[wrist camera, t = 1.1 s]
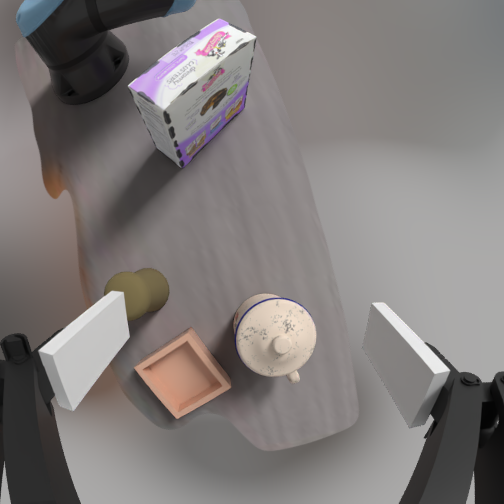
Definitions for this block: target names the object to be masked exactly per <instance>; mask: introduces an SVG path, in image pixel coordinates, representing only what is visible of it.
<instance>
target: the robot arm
mask: <svg viewBox="0 0 504 504" xmlns="http://www.w3.org/2000/svg"><path fill="white" fill-rule="evenodd" d="M195 2H196V0H25V1H24V2H23V4H22V5H21V6H20V8H19V10H18V12H17V15H16V22H17V24H18V26H19V28H20V30H21V32H22V35H23V37H25V38H26V39H27V40H28V42H29V43H30V44H31V46H32V47H33V48H34V50H35V51H36V52H37V54H38V55H39V56H40V58H41V59H42V60H43V62H44V63H45V64H46V65H47V67H48V68H49V72H50V77H51V82H52V86H53V90H54V92H55V93H56V95H57V96H58V97H59V98H60V99H61V100H62V101H63V102H65V103H67V104H81V103H85V102H88V101H91V100H93V99H95V98H97V97H99V96H101V95H102V94H104V93H105V92H107V91H108V90H109V89H111V88H112V87H113V86H114V85H115V84H116V83H117V82H118V81H119V80H120V78H121V77H122V76H123V74H124V73H125V71H126V69H127V66H128V63H129V55H128V52H127V49H126V47H125V45H124V43H123V42H122V41H121V40H119V39H118V38H117V37H116V36H115V35H114V34H113V33H112V32H110V31H109V30H111V29H114V28H118V27H121V26H124V25H128V24H132V23H136V22H140V21H144V20H148V19H152V18H157V17H166V16H168V15H171V14H175V13H180V12H185V11H187V10H189V9H190V8H191V7H192V6H193V5H194V4H195ZM129 337H130V335H129V329H128V322H127V315H126V308H125V299H124V292H118V291H111V292H110V293H108V294H107V295H106V296H104V297H103V298H102V299H101V300H99V301H98V302H97V303H95V304H94V305H93V306H92V307H90V308H89V309H88V310H87V311H85V312H84V313H83V314H82V315H80V316H79V317H78V318H77V319H76V320H74V321H73V322H72V323H71V324H70V325H68V326H67V327H65V328H62V329H61V330H58V331H57V332H55V333H54V334H53V335H52V336H51V337H50V338H48V339H47V340H46V341H44V342H43V343H42V344H41V345H40V346H38V347H37V348H36V349H35V350H34V351H33V352H31V349H30V345H29V342H28V339H27V337H26V336H25V335H24V334H19V333H17V334H11V335H8V336H6V337H5V338H3V339H2V340H1V342H0V345H1V348H2V350H3V353H4V356H5V359H6V360H0V497H1V484H2V475H3V468H4V461H5V468H6V476H7V482H8V489H9V494H10V500H11V504H81V503H80V500H79V498H78V495H77V492H76V490H75V487H74V484H73V481H72V479H71V475H70V473H69V469H68V466H67V463H66V459H65V456H64V452H63V449H62V445H61V441H60V437H59V433H58V428H57V424H56V419H55V414H54V409H53V405H52V403H51V399H52V398H53V397H54V396H55V397H56V399H57V402H58V404H59V406H61V407H64V408H66V409H69V410H72V411H74V410H75V408H76V407H77V406H78V404H79V403H80V401H81V400H82V399H83V397H84V396H85V395H86V393H87V392H88V391H89V389H90V388H91V387H92V385H93V384H94V383H95V381H96V380H97V379H98V377H99V376H100V375H101V373H102V372H103V371H104V369H105V368H106V367H107V366H108V364H109V363H110V362H111V360H112V359H113V358H114V356H115V355H116V354H117V353H118V351H119V350H120V349H121V347H122V346H123V345H124V344H125V342H126V341H127V340H128V339H129ZM362 348H363V350H364V351H365V353H366V355H367V356H368V358H369V360H370V361H371V363H372V365H373V366H374V368H375V370H376V371H377V373H378V374H379V376H380V378H381V380H382V381H383V383H384V385H385V386H386V388H387V390H388V392H389V393H390V395H391V397H392V399H393V400H394V402H395V404H396V405H397V407H398V409H399V411H400V412H401V414H402V416H403V418H404V419H405V421H406V423H407V425H408V427H409V428H413V427H417V426H421V425H424V424H425V423H426V421H427V419H428V417H429V415H430V414H431V415H432V417H433V418H434V421H433V423H432V425H431V426H430V428H429V430H428V432H427V433H426V435H425V437H424V438H427V439H426V442H425V444H424V447H423V450H422V453H421V455H420V458H419V461H418V463H417V465H416V468H415V470H414V473H413V475H412V477H411V480H410V482H409V484H408V486H407V488H406V490H405V492H404V495H403V496H402V498H401V501H400V502H399V504H466V500H467V497H468V493H469V489H470V485H471V480H472V476H473V471H474V479H475V504H504V372H498V373H497V374H496V375H495V377H494V379H493V381H492V382H488V383H487V382H486V383H482V382H481V380H480V378H479V377H477V376H476V375H474V374H472V373H468V372H461V373H459V372H458V371H457V370H456V369H455V368H454V367H453V366H452V364H451V363H450V362H448V360H447V359H445V357H444V356H443V355H442V354H440V352H439V351H438V350H437V349H436V348H435V347H433V346H432V345H430V344H428V343H424V342H423V341H422V340H421V339H420V338H419V337H418V336H417V335H416V334H415V333H414V332H413V331H412V330H411V329H410V328H409V327H408V326H407V325H406V324H405V323H404V322H403V321H402V320H401V319H400V318H399V317H398V316H397V315H396V314H395V313H394V312H393V311H392V310H391V309H390V308H389V307H388V306H387V305H386V304H385V303H371V308H370V313H369V319H368V323H367V328H366V332H365V337H364V342H363V346H362ZM498 420H499V422H498V424H497V421H498Z"/></svg>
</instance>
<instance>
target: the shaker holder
mask: <svg viewBox="0 0 504 504" xmlns="http://www.w3.org/2000/svg"><path fill="white" fill-rule="evenodd" d="M134 368H135V370H136V371H137V372H138V374H139V375H140V376H141V377H142V379H143V380H144V381H145V382H146V384H147V385H148V386H149V387H150V389H151V390H152V391H153V392H154V393H155V395H156V396H157V397H158V398H159V399H160V401H161V402H162V403H163V404H164V405H165V406H166V407H167V409H168V410H169V411H170V412H171V413H172V414H173V415H174V416H175V418H176V419H178V418H180V417H182V416H184V415H185V414H187V413H189V412H191V411H193V410H194V409H196V408H198V407H200V406H201V405H203V404H205V403H206V402H208V401H210V400H212V399H213V398H215V397H217V396H218V395H220V394H222V393H223V392H225V391H226V390H228V389H230V388H231V379H230V377H229V376H228V374H227V373H226V372H225V371H224V369H223V368H222V367H221V366H220V364H219V363H218V362H217V360H216V359H215V358H214V357H213V355H212V354H211V353H210V351H209V350H208V349H207V347H206V346H205V345H204V343H203V342H202V341H201V339H200V338H199V337H198V335H197V334H196V333H195V331H194V330H193V329H192V327H190V328H189V329H187V330H186V331H184V332H183V333H181V334H180V335H178V336H177V337H175V338H174V339H172V340H170V341H169V342H167V343H166V344H164V345H163V346H161V347H160V348H158V349H157V350H155V351H154V352H152V353H151V354H149V355H148V356H146V357H144V358H143V359H141V360H140V361H139V362H138V364H137V365H136V366H135V367H134Z"/></svg>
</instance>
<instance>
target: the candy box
mask: <svg viewBox="0 0 504 504" xmlns="http://www.w3.org/2000/svg"><path fill="white" fill-rule="evenodd" d="M255 43H256V36H254V35H252V34H250V33H248V32H246V31H244V30H242V29H240V28H238V27H236V26H234V25H232V24H230V23H228V22H226V21H224V20H221V19H217V20H215V21H214V22H212V23H210V24H209V25H207V26H206V27H204V28H203V29H201V30H200V31H198V32H197V33H195V34H194V35H192V36H191V37H189V38H188V39H186V40H185V41H184V42H182V43H181V44H179V45H178V46H176V47H175V48H174V49H172V50H171V51H170V52H168V53H167V54H166V55H164V56H163V57H162V58H160V59H159V60H158V61H157V62H155V63H154V64H153V65H152V66H150V67H149V68H148V69H147V70H146V71H144V72H143V73H142V74H141V75H140V76H138V77H137V78H136V79H135V80H134V81H133V82H131V83H130V84H129V85H128V89H129V91H130V93H131V95H132V97H133V99H134V101H135V104H136V106H137V108H138V110H139V112H140V114H141V116H142V118H143V121H144V123H145V125H146V127H147V129H148V131H149V133H150V135H151V137H152V139H153V142H154V144H155V146H156V148H158V149H159V150H160V151H161V152H162V153H164V154H165V155H166V156H167V157H168V158H170V159H171V160H172V161H173V162H174V163H176V164H177V165H178V166H179V167H180V168H183V167H185V166H186V165H187V164H188V163H189V162H190V161H191V160H192V158H193V157H194V156H195V155H196V154H197V153H198V152H199V151H200V150H201V149H202V148H203V147H204V146H205V145H206V144H207V143H208V142H209V141H210V140H211V139H212V138H213V137H214V136H215V135H216V134H217V133H218V132H219V131H220V130H221V129H222V128H223V127H224V126H225V125H226V124H227V123H228V122H229V121H230V120H232V119H233V118H234V117H235V116H236V115H237V114H238V113H239V112H240V111H241V110H243V109H244V107H245V101H246V95H247V88H248V83H249V77H250V72H251V66H252V60H253V54H254V49H255Z"/></svg>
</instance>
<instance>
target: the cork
mask: <svg viewBox="0 0 504 504" xmlns="http://www.w3.org/2000/svg"><path fill="white" fill-rule="evenodd" d="M111 291H118V292H124V299H125V308H126V315H127V321H133V320H135V319H138V318H140V317H141V316H142V315H144V314H145V313H146V312H154V311H156V310H159V309H160V308H162V307H163V306H164V305H165V303H166V302H167V300H168V296H169V285H168V282H167V280H166V278H165V277H164V276H163V274H162V273H160V272H159V271H157V270H155V269H151V268H144V269H141V270H139V271H137V272H135V273H133V272H120V273H118V274H116V275H114V276H113V277H112V278H111V279H110V280H109V281H108V283H107V285H106V287H105V292H104V296H106V295H107V294H108V293H110V292H111Z"/></svg>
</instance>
